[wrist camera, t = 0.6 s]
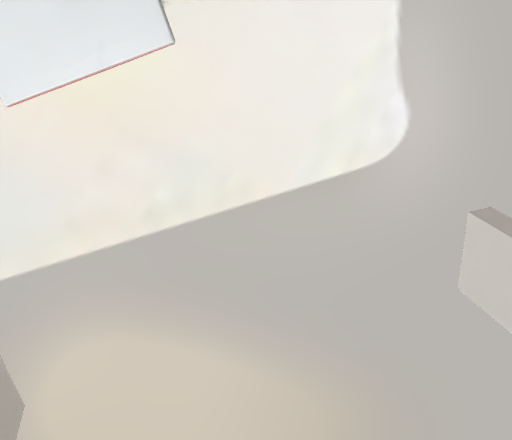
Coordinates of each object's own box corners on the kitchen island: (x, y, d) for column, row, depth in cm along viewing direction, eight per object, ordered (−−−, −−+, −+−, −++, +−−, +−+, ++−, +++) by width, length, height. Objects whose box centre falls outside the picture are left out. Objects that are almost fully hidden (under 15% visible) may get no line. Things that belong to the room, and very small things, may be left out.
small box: (43, 79, 27) (0, 112, 18) (-10, -18, 25) (-91, -35, 16) (162, 35, 28) (179, 46, 19) (124, -64, 25) (121, -107, 16)
